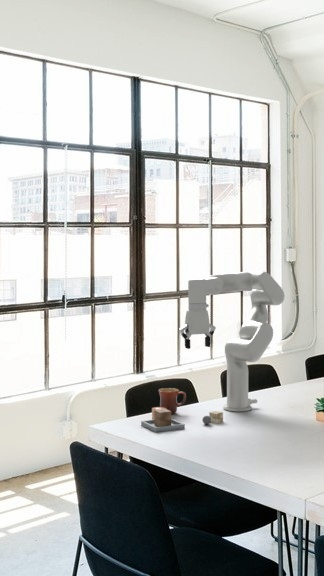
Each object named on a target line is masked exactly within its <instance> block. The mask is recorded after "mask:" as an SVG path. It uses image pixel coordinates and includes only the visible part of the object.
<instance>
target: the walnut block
mask: <svg viewBox="0 0 324 576" xmlns="http://www.w3.org/2000/svg"><path fill="white" fill-rule="evenodd" d="M171 418H172V414H171V411H169V410H167V409H161V410H155V425H156V426H158V427H163V426H170V425H171Z"/></svg>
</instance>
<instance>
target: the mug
mask: <svg viewBox="0 0 324 576" xmlns="http://www.w3.org/2000/svg"><path fill="white" fill-rule="evenodd" d="M158 393H159V398H160V400H159V401H160V402H159V407H164V408H166V409H167V410H169V411H171V415H175V414H176V413H177V410H178V407H181V406H183V405H185V404H184V403H186V400H187V395H186V394H187V393H186V392H185V391H180V390H179V389H178V388H175V387H174V388H173V387H167V388H166V387H165V388H159V389H158ZM181 394H182V395H183V400H182V401H181V402H180V403H179V402H178V400H177V399H178V396H179V395H181Z"/></svg>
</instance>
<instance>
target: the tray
mask: <svg viewBox="0 0 324 576" xmlns="http://www.w3.org/2000/svg"><path fill="white" fill-rule="evenodd" d="M140 421H141V422H140V423H141V426H142V427H144V428H146V429H148V430H149V431H151V432H153V433H162V432H171V431H176V430H184V429H185V423H183V422H180V421H178V420H176V419H174V418H172V417H171V425H170V426H163V427H158V426H156V425H155V419H154V420H152V419H146V420H140Z"/></svg>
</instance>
